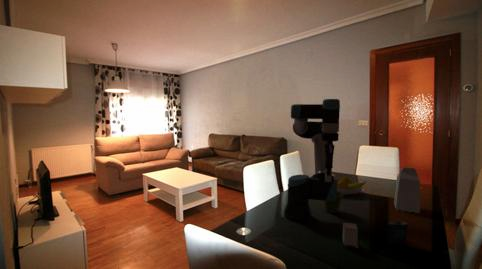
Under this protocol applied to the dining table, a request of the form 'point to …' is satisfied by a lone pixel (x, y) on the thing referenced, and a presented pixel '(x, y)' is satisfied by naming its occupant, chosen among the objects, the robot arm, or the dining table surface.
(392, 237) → the flask
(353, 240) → the cap
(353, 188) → the fruit bowl
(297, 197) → the robot arm
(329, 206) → the plant pot
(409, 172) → the milk
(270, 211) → the dining table surface
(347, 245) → the post
